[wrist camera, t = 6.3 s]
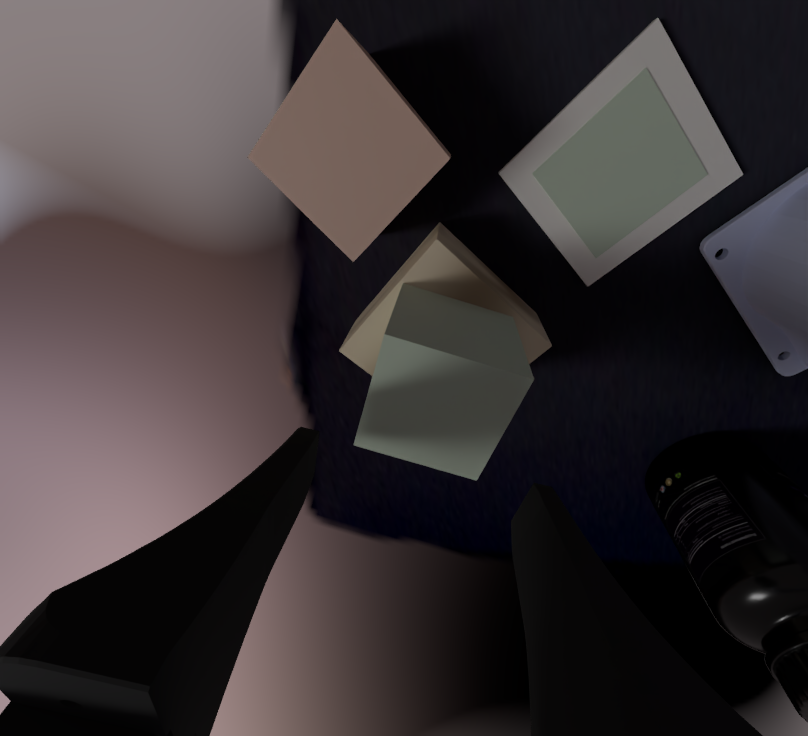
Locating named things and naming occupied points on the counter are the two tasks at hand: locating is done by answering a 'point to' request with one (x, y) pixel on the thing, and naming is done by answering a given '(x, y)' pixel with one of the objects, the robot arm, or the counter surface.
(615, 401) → the counter surface
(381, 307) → the maple block
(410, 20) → the counter surface
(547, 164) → the card
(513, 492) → the counter surface
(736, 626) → the supplement bottle
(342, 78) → the terracotta block
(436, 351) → the sage block
